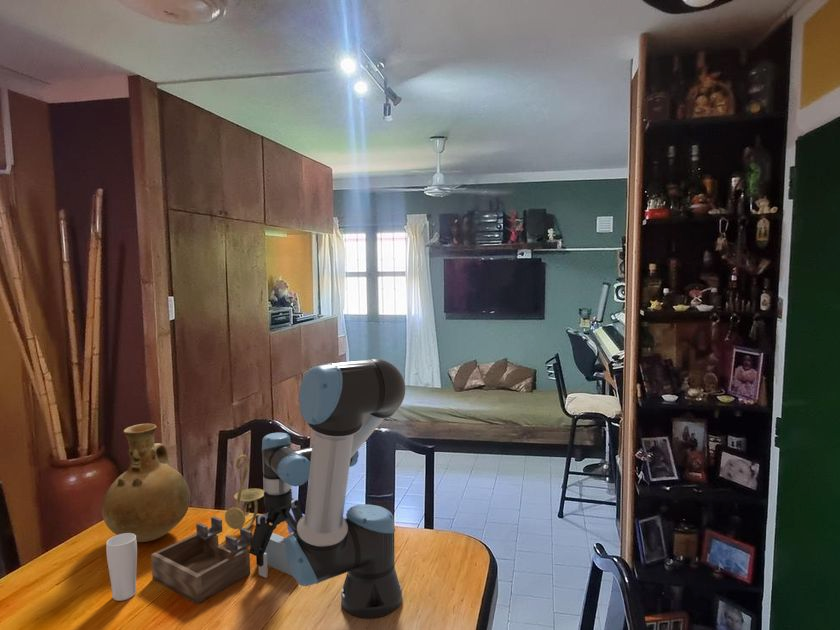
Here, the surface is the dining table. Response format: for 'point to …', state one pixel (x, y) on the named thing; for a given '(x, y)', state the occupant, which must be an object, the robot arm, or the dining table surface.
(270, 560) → the door
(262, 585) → the dining table surface
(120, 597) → the drinking glass
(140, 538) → the vase
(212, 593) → the box
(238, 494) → the wall sconce
